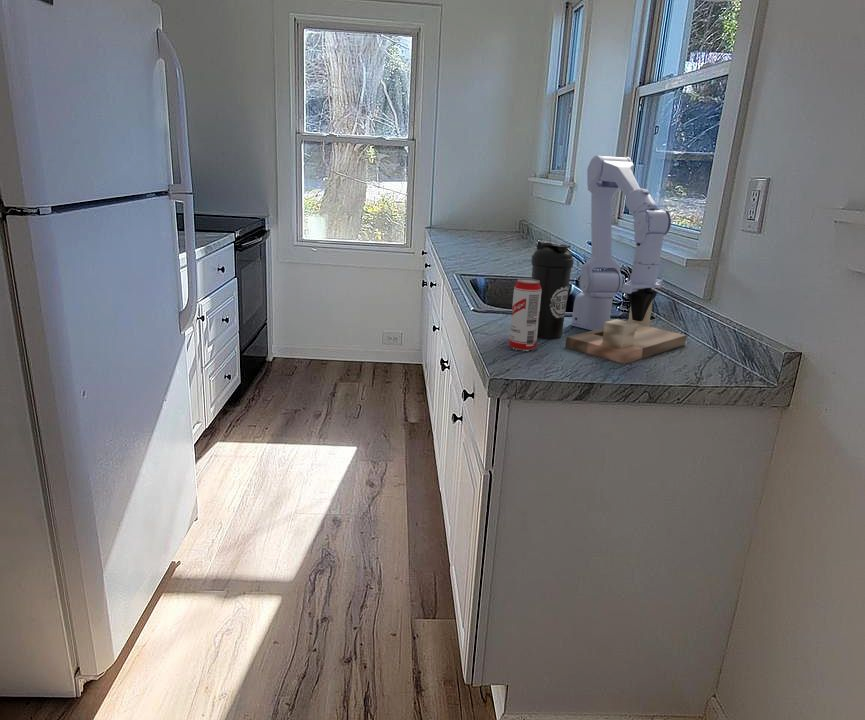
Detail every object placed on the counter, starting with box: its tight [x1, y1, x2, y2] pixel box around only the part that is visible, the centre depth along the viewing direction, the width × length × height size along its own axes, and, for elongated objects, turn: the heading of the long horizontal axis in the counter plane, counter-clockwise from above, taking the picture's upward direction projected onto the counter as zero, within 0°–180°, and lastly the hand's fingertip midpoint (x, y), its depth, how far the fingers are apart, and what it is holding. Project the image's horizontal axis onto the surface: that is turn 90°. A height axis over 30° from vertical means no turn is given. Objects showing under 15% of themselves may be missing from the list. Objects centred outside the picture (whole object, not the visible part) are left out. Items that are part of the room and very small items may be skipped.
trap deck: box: [565, 322, 687, 365], centre depth 158 cm, size 16×28×2 cm, turn 133°
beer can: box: [508, 278, 542, 351], centre depth 149 cm, size 6×6×16 cm
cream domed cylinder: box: [627, 299, 654, 327], centre depth 177 cm, size 6×6×10 cm
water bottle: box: [530, 241, 575, 340], centre depth 162 cm, size 10×10×23 cm
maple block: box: [602, 318, 636, 348], centre depth 150 cm, size 5×5×5 cm
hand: (637, 320), depth 154 cm, fingers closed
